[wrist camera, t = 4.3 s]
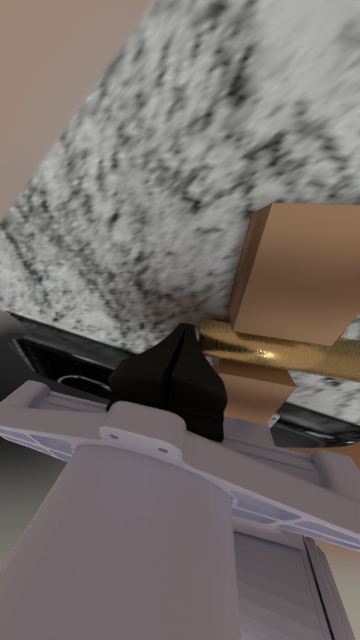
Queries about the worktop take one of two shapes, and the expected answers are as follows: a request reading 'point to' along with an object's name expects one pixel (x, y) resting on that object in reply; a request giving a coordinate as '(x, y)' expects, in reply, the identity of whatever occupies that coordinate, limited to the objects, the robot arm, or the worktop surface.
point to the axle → (281, 351)
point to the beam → (290, 294)
